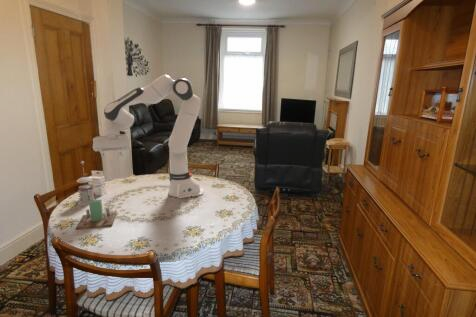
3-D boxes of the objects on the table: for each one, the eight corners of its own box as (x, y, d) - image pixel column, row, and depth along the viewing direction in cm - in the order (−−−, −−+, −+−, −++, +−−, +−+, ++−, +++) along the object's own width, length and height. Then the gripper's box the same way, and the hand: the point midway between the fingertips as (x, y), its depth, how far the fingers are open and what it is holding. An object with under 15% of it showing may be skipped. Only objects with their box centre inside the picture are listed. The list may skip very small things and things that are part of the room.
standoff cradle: (116, 213, 155) (115, 205, 154) (112, 226, 142) (111, 216, 141) (83, 216, 151) (82, 207, 150) (76, 229, 138) (74, 220, 137)
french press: (93, 197, 175) (88, 158, 169) (100, 203, 168) (95, 162, 161) (75, 201, 169) (70, 160, 162) (81, 208, 161) (76, 165, 154)
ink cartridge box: (89, 195, 179) (86, 172, 175) (93, 192, 184) (91, 170, 180) (102, 196, 178) (99, 173, 174) (106, 193, 183) (104, 170, 179)
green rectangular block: (103, 217, 148) (101, 199, 146) (102, 220, 145) (100, 202, 143) (92, 218, 147) (90, 200, 144) (91, 221, 144) (89, 202, 142)
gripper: (91, 133, 164) (90, 154, 157) (129, 131, 169) (130, 151, 162) (94, 139, 169) (93, 160, 162) (131, 138, 174) (131, 157, 168)
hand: (112, 156), depth 162 cm, fingers open, 8 cm apart
